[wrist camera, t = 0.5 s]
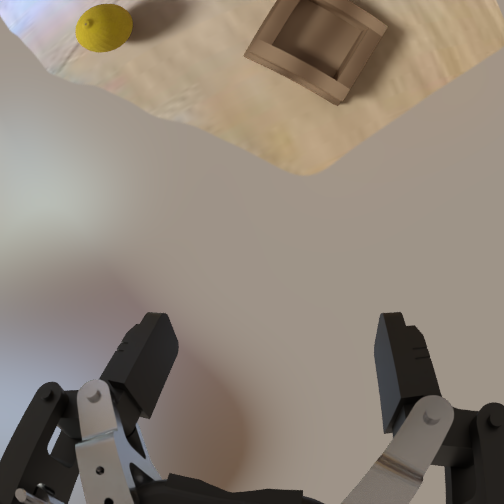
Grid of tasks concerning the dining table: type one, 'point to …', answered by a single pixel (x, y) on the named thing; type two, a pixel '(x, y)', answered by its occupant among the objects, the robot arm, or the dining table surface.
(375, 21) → the square wooden tray
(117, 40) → the lemon
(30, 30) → the dining table surface
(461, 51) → the dining table surface
